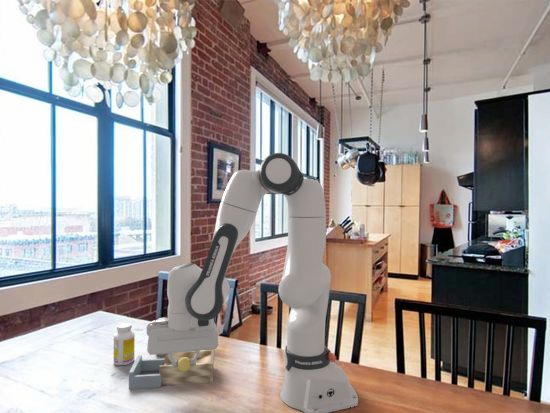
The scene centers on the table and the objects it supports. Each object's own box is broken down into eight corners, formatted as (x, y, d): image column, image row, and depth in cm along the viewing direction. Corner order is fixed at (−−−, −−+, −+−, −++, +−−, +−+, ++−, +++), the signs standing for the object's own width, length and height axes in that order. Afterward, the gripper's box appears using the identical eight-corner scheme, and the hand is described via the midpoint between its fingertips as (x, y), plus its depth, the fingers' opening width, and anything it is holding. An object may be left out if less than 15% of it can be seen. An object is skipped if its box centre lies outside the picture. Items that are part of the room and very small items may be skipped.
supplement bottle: (137, 357, 120) (137, 322, 120) (129, 366, 114) (129, 329, 113) (118, 357, 120) (119, 321, 120) (109, 366, 113) (110, 328, 113)
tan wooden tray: (213, 367, 114) (213, 349, 114) (212, 382, 104) (213, 363, 104) (164, 369, 112) (165, 352, 112) (159, 386, 102) (159, 366, 102)
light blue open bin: (166, 368, 112) (167, 354, 112) (160, 386, 101) (161, 370, 101) (137, 370, 111) (138, 355, 111) (128, 388, 100) (128, 372, 100)
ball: (191, 367, 101) (191, 354, 101) (190, 373, 97) (190, 360, 97) (178, 368, 100) (177, 355, 100) (176, 375, 96) (176, 361, 96)
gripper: (144, 325, 94) (145, 374, 94) (218, 319, 97) (218, 367, 97) (148, 318, 100) (149, 364, 100) (217, 313, 103) (218, 357, 103)
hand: (184, 365), depth 98 cm, fingers closed on ball, 4 cm apart
